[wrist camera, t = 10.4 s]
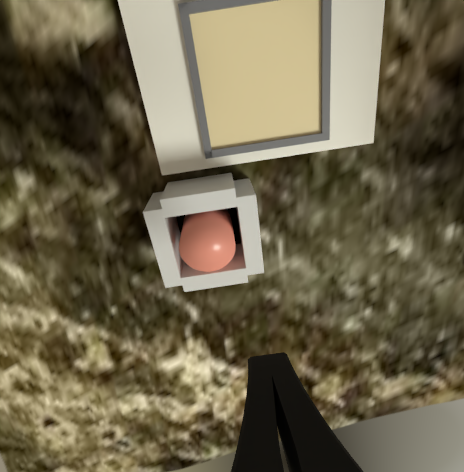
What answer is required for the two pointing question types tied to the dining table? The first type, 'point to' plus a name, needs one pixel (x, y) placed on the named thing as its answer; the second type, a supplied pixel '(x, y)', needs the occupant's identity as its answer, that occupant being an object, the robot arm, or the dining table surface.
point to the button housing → (196, 201)
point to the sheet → (254, 77)
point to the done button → (207, 240)
